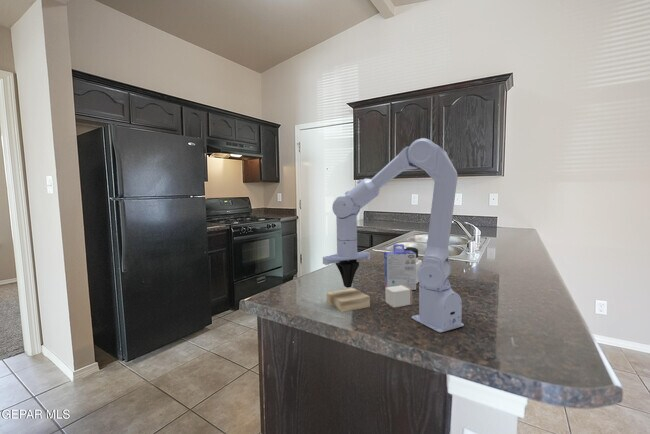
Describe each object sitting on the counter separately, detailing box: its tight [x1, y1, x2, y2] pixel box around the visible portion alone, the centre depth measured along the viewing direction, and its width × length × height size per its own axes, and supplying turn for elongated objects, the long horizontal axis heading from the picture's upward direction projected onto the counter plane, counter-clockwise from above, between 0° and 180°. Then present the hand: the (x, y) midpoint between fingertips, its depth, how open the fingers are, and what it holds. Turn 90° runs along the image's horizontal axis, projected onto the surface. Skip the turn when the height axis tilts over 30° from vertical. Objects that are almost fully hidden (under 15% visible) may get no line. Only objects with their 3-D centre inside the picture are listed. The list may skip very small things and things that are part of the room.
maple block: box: [326, 287, 371, 313], centre depth 87 cm, size 9×9×3 cm
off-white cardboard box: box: [384, 285, 413, 308], centre depth 88 cm, size 5×5×6 cm
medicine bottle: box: [404, 246, 423, 285], centre depth 110 cm, size 7×7×12 cm
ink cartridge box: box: [383, 243, 417, 291], centre depth 102 cm, size 10×6×14 cm, turn 90°
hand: (347, 286), depth 87 cm, fingers closed
